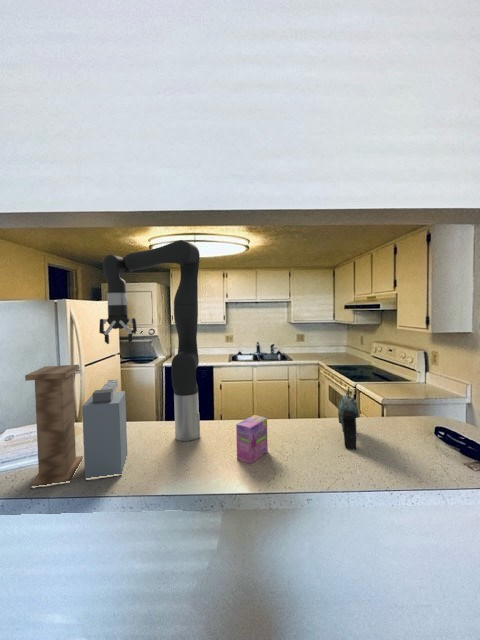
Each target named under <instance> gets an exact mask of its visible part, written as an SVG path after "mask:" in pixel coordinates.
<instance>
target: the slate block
mask: <svg viewBox="0 0 480 640" xmlns="http://www.w3.org/2000/svg"><path fill="white" fill-rule="evenodd" d="M126 405H127V402H126V390H122V391H120V390H119V391H114V393H113V400H112V401H111V402H106V403H95V404H93V394H91V396H90V397H89V398H88V399H87V400H86V401H85V402H84V403H83V405H82V406H81V409H82V410H81V412H82V433H83V434H82V435H83V436H82V438H83V463H84V466H83V467H84V480H85V479H86V478H91V477H99V476H107V475H114V474H122V475H123V473H122V471H123V472H124V470H123V467H124V468H125V466H124V464H125V465H126V462H125V460H126V461H127V458H126V456H127V457H128V432H127V407H126Z"/></svg>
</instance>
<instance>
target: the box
mask: <svg viewBox="0 0 480 640" xmlns="http://www.w3.org/2000/svg"><path fill="white" fill-rule="evenodd" d="M235 427H236V428H235V429H236V432H235V433H236V459H237V460H239V461H240V460H241V461H240V462H243V461H244V462H243V463H246V464H248V465H251V464H253V462H255V461H256V460H258V459H259V458H261V457H262V456H263V455H265V454H266V453H267V452H268V418H267V417H264V416H260V415H257V414H253V415H252V416H249V417H247V418H246V419H244V420H242V421H240V422H237V423H236V426H235Z"/></svg>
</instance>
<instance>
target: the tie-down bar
mask: <svg viewBox="0 0 480 640" xmlns="http://www.w3.org/2000/svg"><path fill="white" fill-rule="evenodd" d="M118 387H119V383H118V379H109V380H107V382H106V383H105V384H104V385H103V386H102V388H101V389H96V390H94V391H93V392H92V395H93V404H95V403H106V402H111V401H112V400H113V393H114V392H116V390H117V389H118Z"/></svg>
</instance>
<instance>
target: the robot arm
mask: <svg viewBox="0 0 480 640" xmlns="http://www.w3.org/2000/svg"><path fill="white" fill-rule="evenodd" d="M200 256H201V255H200V250H199V249H198V247H197V246H196V244H194V243H192V242H190V241H188V240H187V241H186V240H184V239H180V240H176V241H172V242H171V243H168V244H165V245H163V246H159V247H156V248H151V249H148V250H141V251H135V252H131V253H128V254H127V253H126V255H125V256H118V255H115V254H108V255H106V256H104V258H103V261H102V269H103V272H104V277H105V280H106V282H107V319H105V318H100V319H99V331H98V333H99V334H102V335H104V343H106V345H109V344H110V335H109V334H110V333H111V331H112V330H118V329H119V330H122V329H124V330H125V331H126V332H127V333H128V334H127V337H128V338H127V339H128V344H131V343H132V342H133V334H134V333H137V332H138V329H137V319H136V318H135V317H132V318H129V317H128V315H129V314H128V297H127V284H126V280H124V279H123V278H121V277H120V276H121V274H122V275H123V274H128V273H130V272H134V271H139V270H140V271H141V270H148V269H150V268H153V267H156V266H157V265H161V264H177V265H179V266H180V279H179V284H178V286H177V289H176V291H175V295H174V299H173V320H174V324H175V328H176V332H177V338H178V342H177V343H178V344H177V354H175V356H173V358H172V360H171V365H170V366H171V367H170V368H171V372H170V374H171V385H172V388H173V401H174V403H173V404H174V429H175V430H174V436H175V437H174V438H175V439H176V441H179V440H180V441H179V442H190V440H191V441H195V440H196V439H200V438H201V421H200V412H199V407H200V406H199V403H200V402H199V385H198V383H197V368H199V362H200V360H199V351H198V341H197V336H198V335H197V334H198V323H199V319H198V318H199V301H198V298H199V296H198V293H199V292H198V291H199V287H198V279H199V278H198V277H199V269H200V268H199V267H200ZM106 322H107V324H108V327H107V329H106V330H105V325H106ZM129 322H130V323H131V324H132V329H131V328H130V327H129V326H128V325H127V324H128V323H129Z"/></svg>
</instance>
